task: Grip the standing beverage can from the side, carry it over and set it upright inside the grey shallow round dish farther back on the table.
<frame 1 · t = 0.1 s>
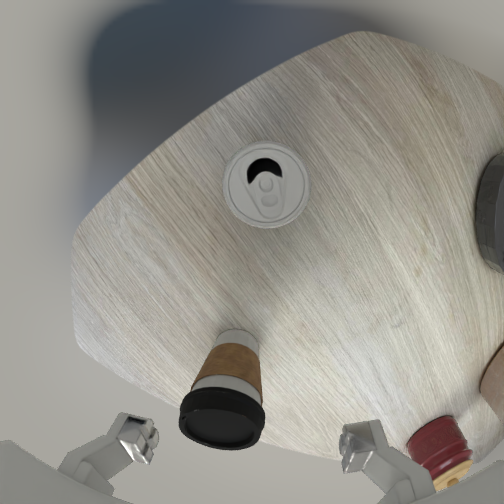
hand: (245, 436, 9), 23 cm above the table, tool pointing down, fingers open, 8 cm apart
kitchen canister: (430, 432, 40), on the table
beverage can: (268, 181, 29), on the table
coffee cup: (237, 346, 35), on the table
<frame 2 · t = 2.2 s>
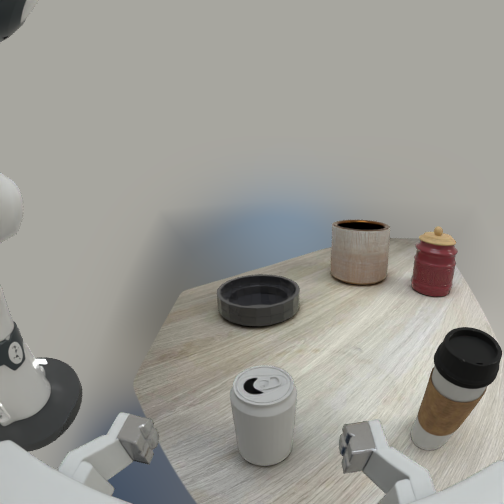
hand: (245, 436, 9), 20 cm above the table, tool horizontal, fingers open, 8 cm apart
planter: (358, 276, 78), on the table
grey shallow round dish: (259, 308, 63), on the table
kitchen canister: (430, 288, 64), on the table
beverage can: (265, 448, 26), on the table
coffee cup: (429, 434, 23), on the table
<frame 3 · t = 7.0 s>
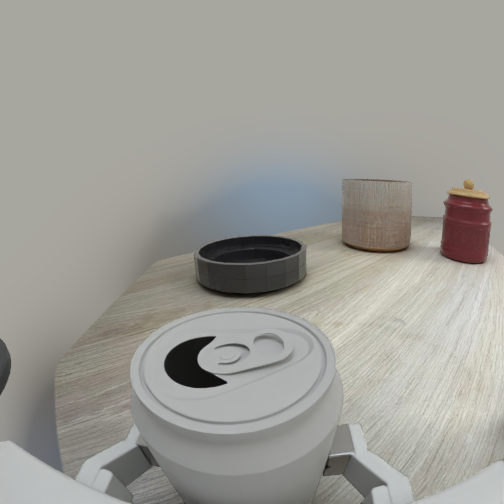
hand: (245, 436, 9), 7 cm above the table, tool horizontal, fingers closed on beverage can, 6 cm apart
planter: (375, 244, 62), on the table
grey shallow round dish: (251, 275, 47), on the table
kitchen canister: (463, 256, 48), on the table
beverage can: (253, 503, 10), on the table, touching gripper
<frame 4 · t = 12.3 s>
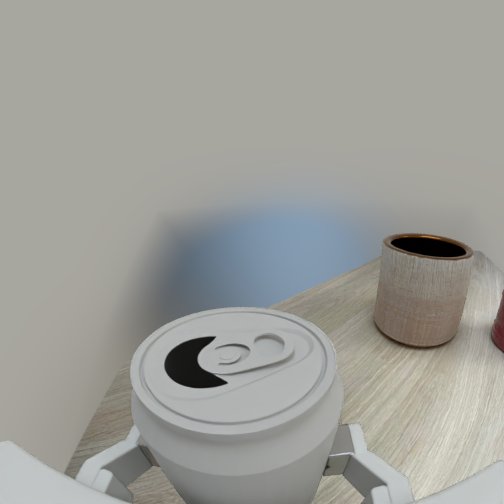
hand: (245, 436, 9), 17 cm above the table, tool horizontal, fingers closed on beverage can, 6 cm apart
planter: (415, 325, 43), on the table
beverage can: (253, 503, 10), point 10 cm above the table, touching gripper
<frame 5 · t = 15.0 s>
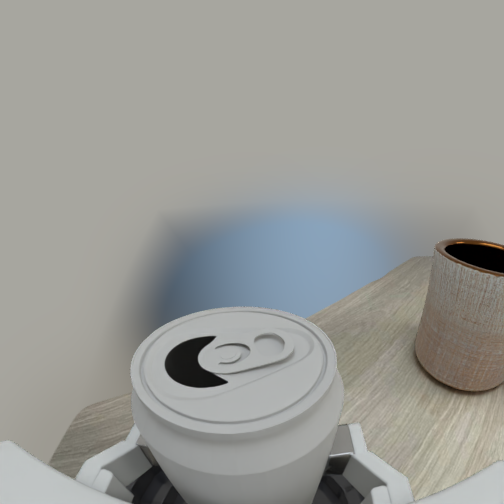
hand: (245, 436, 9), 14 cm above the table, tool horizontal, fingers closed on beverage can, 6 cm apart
planter: (463, 357, 28), on the table
beverage can: (253, 503, 10), point 7 cm above the table, touching gripper
when the fingers open (7 cm above the table, at t = 17.4 s): beverage can stays where it is, resting on grey shallow round dish.
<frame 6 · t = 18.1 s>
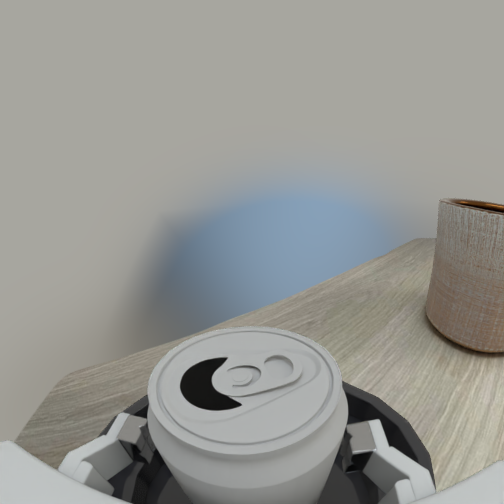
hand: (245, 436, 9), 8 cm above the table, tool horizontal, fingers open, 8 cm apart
planter: (477, 323, 26), on the table
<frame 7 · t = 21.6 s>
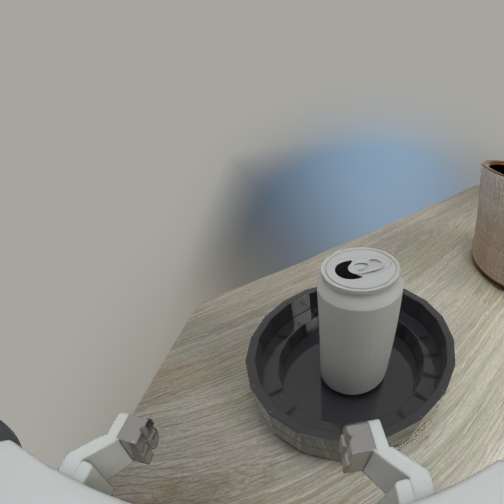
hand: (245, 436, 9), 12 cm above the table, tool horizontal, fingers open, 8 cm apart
grey shallow round dish: (350, 375, 23), on the table
beverage can: (353, 372, 23), point 1 cm above the table, touching grey shallow round dish
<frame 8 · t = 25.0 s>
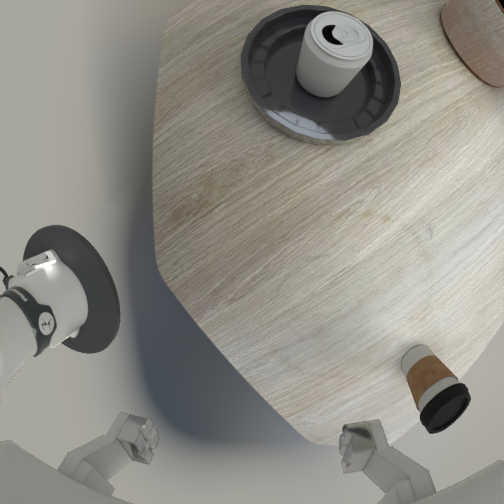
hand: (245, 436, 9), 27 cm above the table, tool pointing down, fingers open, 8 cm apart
planter: (475, 44, 22), on the table
grey shallow round dish: (318, 77, 28), on the table
beverage can: (320, 77, 28), point 1 cm above the table, touching grey shallow round dish
coffee cup: (414, 357, 39), on the table
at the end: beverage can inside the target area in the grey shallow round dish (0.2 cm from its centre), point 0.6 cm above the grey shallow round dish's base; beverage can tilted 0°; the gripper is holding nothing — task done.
